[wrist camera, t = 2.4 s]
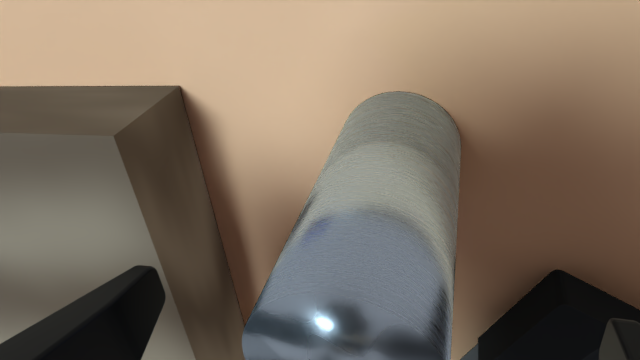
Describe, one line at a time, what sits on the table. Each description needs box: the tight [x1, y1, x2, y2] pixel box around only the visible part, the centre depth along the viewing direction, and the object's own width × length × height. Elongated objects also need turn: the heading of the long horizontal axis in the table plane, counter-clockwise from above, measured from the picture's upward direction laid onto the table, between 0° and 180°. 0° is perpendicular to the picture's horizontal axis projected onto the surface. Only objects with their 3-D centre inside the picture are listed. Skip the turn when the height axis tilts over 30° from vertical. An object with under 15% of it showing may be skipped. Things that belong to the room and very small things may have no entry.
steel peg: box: [242, 91, 461, 360], centre depth 12 cm, size 4×4×8 cm
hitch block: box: [0, 86, 245, 360], centre depth 22 cm, size 22×12×4 cm, turn 7°
